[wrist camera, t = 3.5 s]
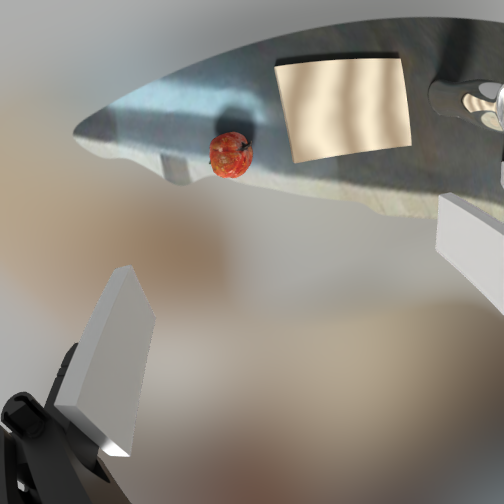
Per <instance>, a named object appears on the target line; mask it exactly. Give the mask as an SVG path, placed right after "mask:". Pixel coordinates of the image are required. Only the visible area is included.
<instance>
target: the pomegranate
mask: <svg viewBox="0 0 504 504" xmlns="http://www.w3.org/2000/svg"><path fill="white" fill-rule="evenodd" d="M251 144H252V141H251V142H250V143H247V140H246V138H245V136H243V135H241V134H239V133H237V132H229V133H225V134H221V135H219V136H218V137H216V138H214V139H213V140H212V142H211V144H210V160H211V163H209V164H211V166H212V168H213V171H214V173H216V174H217V175H218V176H220V177H222V178H228V177H230V178H237V177H239V176H241V175H242V174H244V173H245V172H246V170H247V169H248V167H249V166H250V164H251V162H252V157H253V150H252V148H251Z"/></svg>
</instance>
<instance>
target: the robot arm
mask: <svg viewBox="0 0 504 504" xmlns="http://www.w3.org/2000/svg"><path fill="white" fill-rule="evenodd" d="M435 250H436V251H437V252H438V253H439V254H441V255H442V256H443V257H444V258H445V259H446V260H448V261H449V262H450V263H451V264H452V265H453V266H454V267H455V268H456V269H457V270H458V271H460V272H461V273H462V274H463V275H464V276H465V277H466V278H467V279H468V280H469V281H470V282H471V283H472V284H473V285H474V286H475V287H477V289H478V290H480V291H481V292H482V293H483V294H484V295H485V296H486V297H487V298H488V299H489V300H490V301H491V302H492V303H493V304H494V306H495V307H496V308H497V309H498V310H499V311H500V312H501V313H502V314H503V315H504V223H502V222H500V221H499V220H497V219H496V218H494V217H493V216H491V215H489V214H488V213H486V212H484V211H483V210H481V209H479V208H478V207H476V206H474V205H473V204H471V203H469V202H467V201H466V200H464V199H462V198H460V197H459V196H457V195H455V194H453V193H446V194H441V195H439V208H438V226H437V238H436V249H435ZM155 320H156V317H155V315H154V313H153V311H152V309H151V307H150V305H149V302H148V300H147V298H146V296H145V294H144V292H143V290H142V288H141V285H140V283H139V281H138V279H137V276H136V274H135V272H134V270H133V267H132V265H128V266H124V267H120V268H116V269H115V270H114V271H113V273H112V275H111V277H110V279H109V281H108V283H107V285H106V287H105V289H104V291H103V293H102V295H101V297H100V299H99V301H98V303H97V305H96V307H95V309H94V311H93V313H92V315H91V317H90V319H89V322H88V324H87V326H86V328H85V330H84V332H83V335H82V337H81V339H80V341H79V343H75V344H74V345H73V346H72V347H71V348H70V350H69V351H68V352H67V353H66V355H65V357H64V360H63V362H62V364H61V368H60V369H59V371H58V373H57V377H56V378H55V381H54V383H53V386H52V388H51V391H50V393H49V396H48V398H47V401H46V404H45V406H44V408H43V407H42V406H41V405H40V404H39V403H38V402H37V401H36V400H35V399H34V397H33V396H32V395H31V394H29V393H27V392H20V393H17V394H15V395H13V396H12V397H11V398H10V399H9V400H8V401H7V403H6V404H5V406H4V407H3V411H2V413H1V422H3V423H4V424H5V425H6V426H7V427H8V428H9V429H10V430H11V431H12V433H8V432H7V431H6V430H5V429H4V428H3V427H2V426H1V425H0V504H131V503H130V501H129V500H128V498H127V497H126V496H125V494H124V493H123V491H122V490H121V489H120V487H119V486H118V484H117V483H116V481H115V480H114V478H113V477H112V475H111V473H110V472H109V470H108V469H107V467H106V466H105V464H104V462H103V461H102V460H101V459H100V458H99V457H98V456H97V454H98V449H99V447H100V448H101V449H102V450H104V452H106V453H107V454H108V455H109V456H131V449H132V441H133V435H134V428H135V422H136V415H137V409H138V404H139V398H140V392H141V387H142V382H143V377H144V371H145V366H146V361H147V356H148V352H149V347H150V343H151V338H152V333H153V329H154V324H155ZM17 480H18V481H19V482H21V483H22V484H24V487H25V490H24V491H22V490H20V489H19V488H18V483H17Z"/></svg>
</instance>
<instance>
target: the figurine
mask: <svg viewBox="0 0 504 504" xmlns="http://www.w3.org/2000/svg"><path fill="white" fill-rule="evenodd" d="M501 185H502V186H503V188H504V162H502V163H501Z"/></svg>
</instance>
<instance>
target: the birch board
mask: <svg viewBox="0 0 504 504" xmlns="http://www.w3.org/2000/svg"><path fill="white" fill-rule="evenodd" d="M274 69H275V74H276V78H277V83H278V87H279V92H280V97H281V102H282V107H283V112H284V117H285V122H286V127H287V132H288V137H289V142H290V148H291V153H292V159H293V162H294V163H298V162H304V161H309V160H315V159H320V158H326V157H332V156H338V155H344V154H351V153H357V152H364V151H371V150H378V149H386V148H393V147H402V146H410V145H411V134H410V123H409V113H408V105H407V97H406V89H405V83H404V76H403V70H402V65H401V59H345V60H330V61H318V62H307V63H299V64H291V65H283V66H276V67H274Z"/></svg>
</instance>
